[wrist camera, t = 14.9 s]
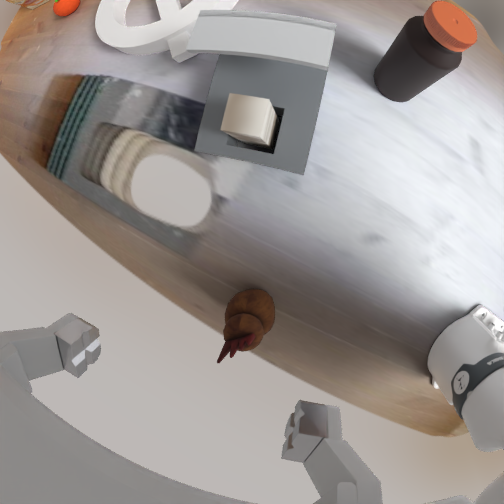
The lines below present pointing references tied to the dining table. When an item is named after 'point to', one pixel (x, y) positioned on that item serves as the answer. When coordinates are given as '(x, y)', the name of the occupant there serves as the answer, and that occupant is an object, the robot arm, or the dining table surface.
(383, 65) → the bottle
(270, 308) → the wooden figurine
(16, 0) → the coffeecake box
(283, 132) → the socket block
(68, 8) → the clementine
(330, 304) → the dining table surface
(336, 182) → the dining table surface
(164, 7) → the ring with crossbar
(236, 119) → the peg
